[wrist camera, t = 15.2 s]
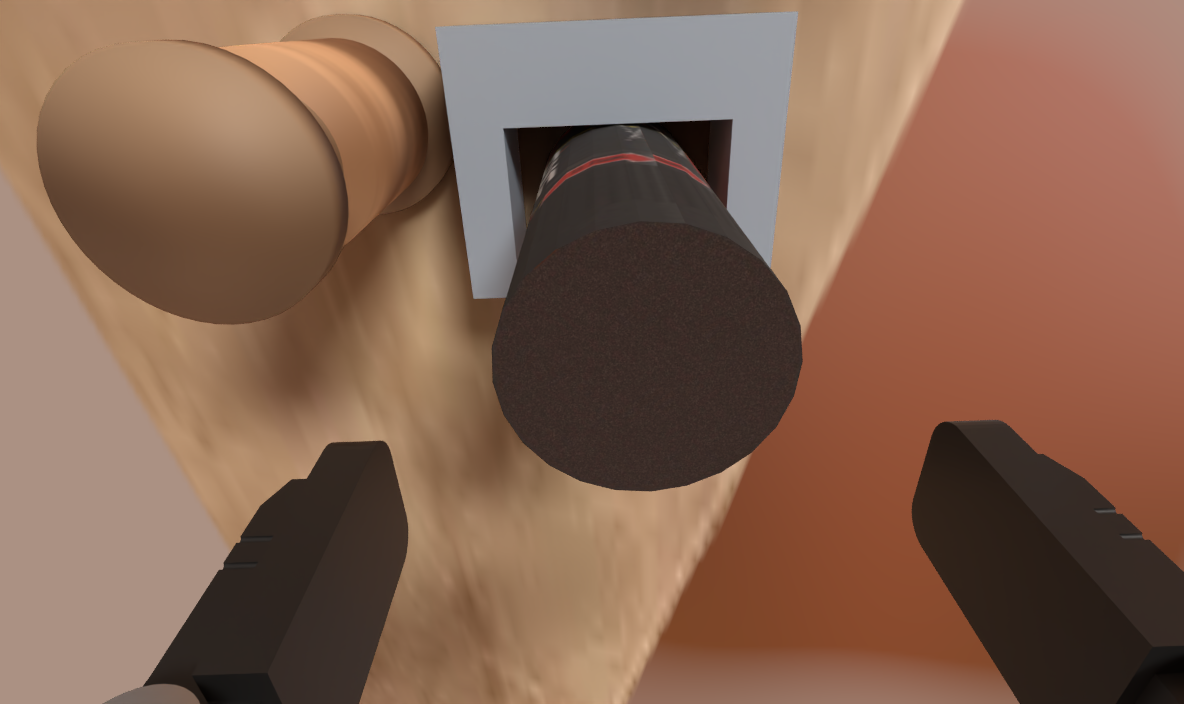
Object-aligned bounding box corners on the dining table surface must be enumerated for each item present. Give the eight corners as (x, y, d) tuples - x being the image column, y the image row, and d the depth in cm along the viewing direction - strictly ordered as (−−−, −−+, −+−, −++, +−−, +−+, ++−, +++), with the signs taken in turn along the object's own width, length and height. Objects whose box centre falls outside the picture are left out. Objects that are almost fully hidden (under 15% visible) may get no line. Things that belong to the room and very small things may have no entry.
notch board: (459, 25, 22) (435, 26, 19) (764, 12, 22) (798, 11, 19) (488, 261, 26) (473, 298, 23) (744, 252, 26) (768, 288, 23)
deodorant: (555, 95, 23) (511, 190, 10) (706, 126, 24) (851, 254, 11) (533, 243, 26) (476, 470, 13) (669, 267, 27) (748, 509, 13)
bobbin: (249, 18, 22) (-61, 19, 12) (443, 10, 22) (310, 3, 11) (300, 211, 25) (96, 348, 15) (469, 204, 25) (384, 337, 15)
